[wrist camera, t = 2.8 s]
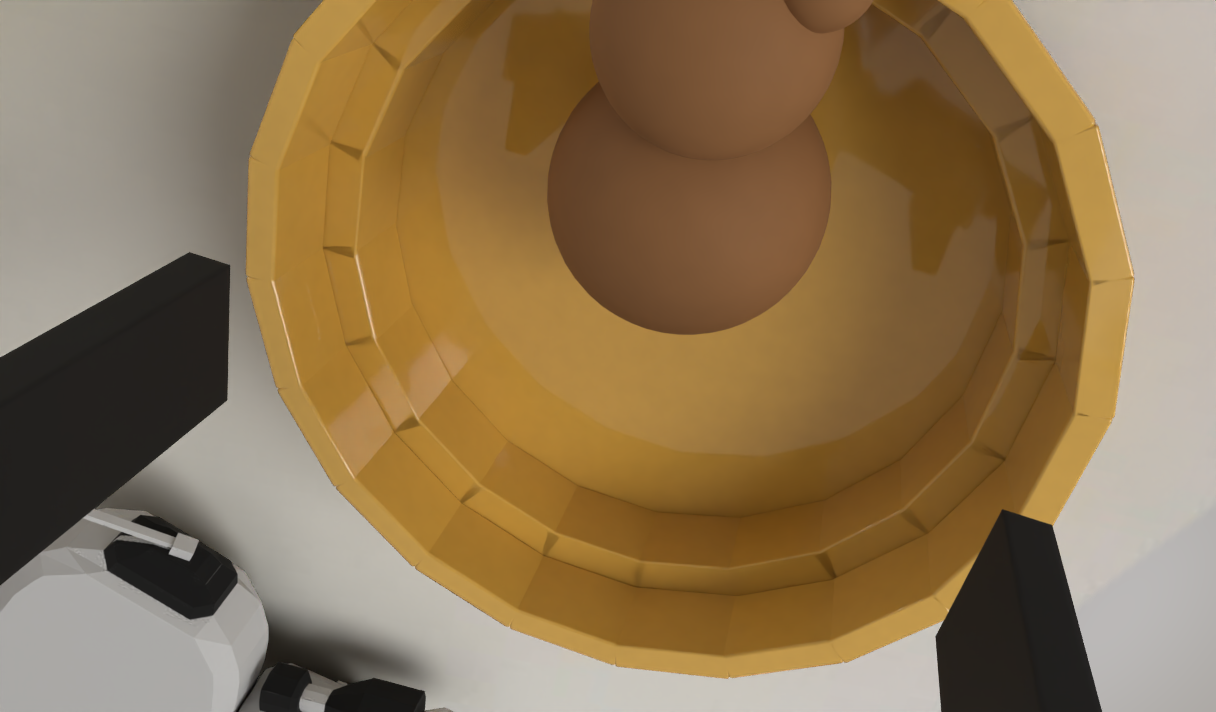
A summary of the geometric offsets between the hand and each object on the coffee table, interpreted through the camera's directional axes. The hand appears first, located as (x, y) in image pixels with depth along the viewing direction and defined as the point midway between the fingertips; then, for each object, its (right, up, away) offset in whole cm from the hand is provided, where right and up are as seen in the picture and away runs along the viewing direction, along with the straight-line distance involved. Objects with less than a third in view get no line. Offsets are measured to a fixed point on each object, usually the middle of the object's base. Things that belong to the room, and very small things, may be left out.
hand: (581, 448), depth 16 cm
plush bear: (+2, +4, +6) cm, 7 cm away
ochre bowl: (+2, +4, +8) cm, 9 cm away
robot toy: (-12, -9, +18) cm, 24 cm away
